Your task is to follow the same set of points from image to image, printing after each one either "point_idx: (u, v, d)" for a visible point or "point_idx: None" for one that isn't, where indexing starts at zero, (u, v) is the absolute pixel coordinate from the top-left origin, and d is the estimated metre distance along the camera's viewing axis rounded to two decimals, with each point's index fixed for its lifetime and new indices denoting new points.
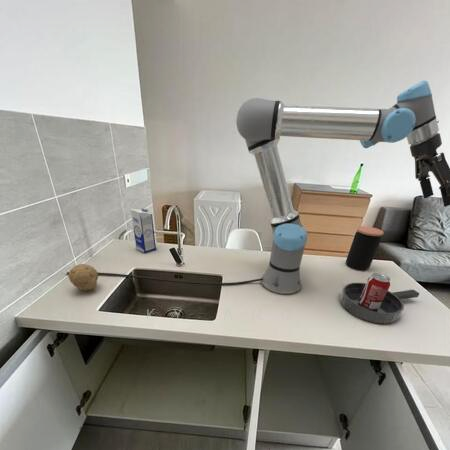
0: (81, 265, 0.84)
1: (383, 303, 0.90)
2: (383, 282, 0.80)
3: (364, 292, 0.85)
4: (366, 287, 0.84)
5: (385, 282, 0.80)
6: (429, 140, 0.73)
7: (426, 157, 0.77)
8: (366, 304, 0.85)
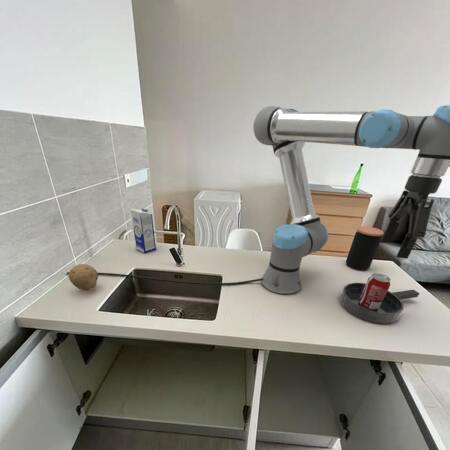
0: (81, 265, 0.84)
1: (383, 303, 0.90)
2: (383, 282, 0.80)
3: (364, 292, 0.85)
4: (366, 287, 0.84)
5: (385, 282, 0.80)
6: (431, 179, 0.63)
7: (415, 197, 0.67)
8: (366, 304, 0.85)
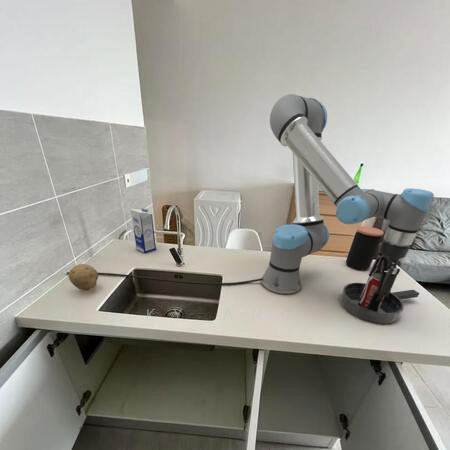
0: (81, 265, 0.84)
1: (383, 303, 0.90)
2: None
3: (364, 292, 0.85)
4: (366, 287, 0.84)
5: None
6: (399, 248, 0.72)
7: (387, 259, 0.77)
8: (366, 304, 0.85)
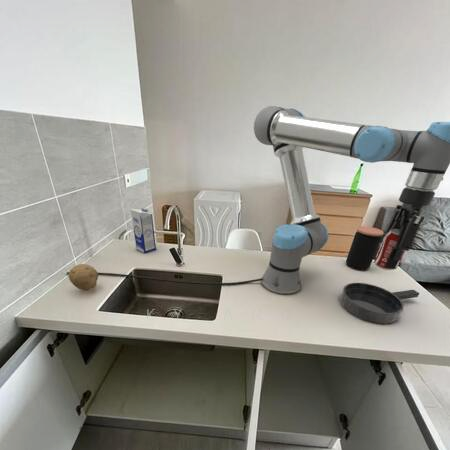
0: (81, 265, 0.84)
1: (383, 303, 0.90)
2: None
3: (380, 250, 0.77)
4: (383, 244, 0.76)
5: None
6: (424, 192, 0.65)
7: (409, 209, 0.69)
8: (383, 263, 0.77)
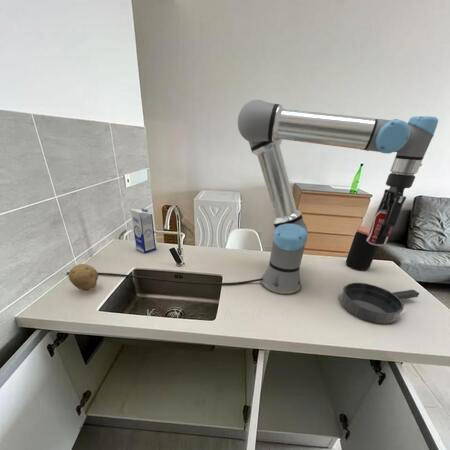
0: (81, 265, 0.84)
1: (383, 303, 0.90)
2: None
3: (371, 228, 0.89)
4: (373, 223, 0.88)
5: None
6: (405, 176, 0.77)
7: (394, 191, 0.81)
8: (374, 240, 0.89)
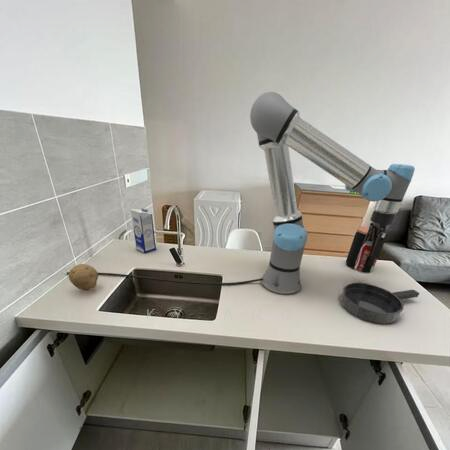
0: (81, 265, 0.84)
1: (383, 303, 0.90)
2: None
3: (358, 258, 0.98)
4: (360, 253, 0.97)
5: None
6: (387, 215, 0.85)
7: (377, 226, 0.89)
8: (361, 268, 0.98)
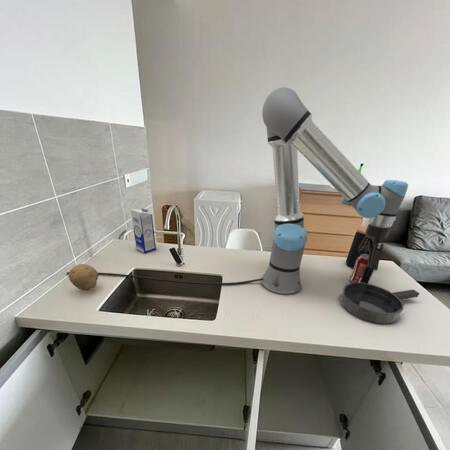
0: (81, 265, 0.84)
1: (383, 303, 0.90)
2: None
3: (354, 270, 1.01)
4: (355, 265, 1.00)
5: None
6: (381, 229, 0.88)
7: (372, 239, 0.92)
8: (356, 280, 1.00)
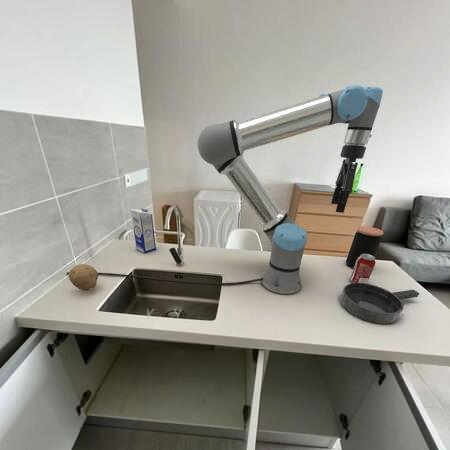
0: (81, 265, 0.84)
1: (383, 303, 0.90)
2: (369, 260, 0.95)
3: (354, 270, 1.01)
4: (355, 265, 1.00)
5: (371, 260, 0.95)
6: (356, 146, 0.81)
7: (347, 162, 0.85)
8: (356, 280, 1.00)
